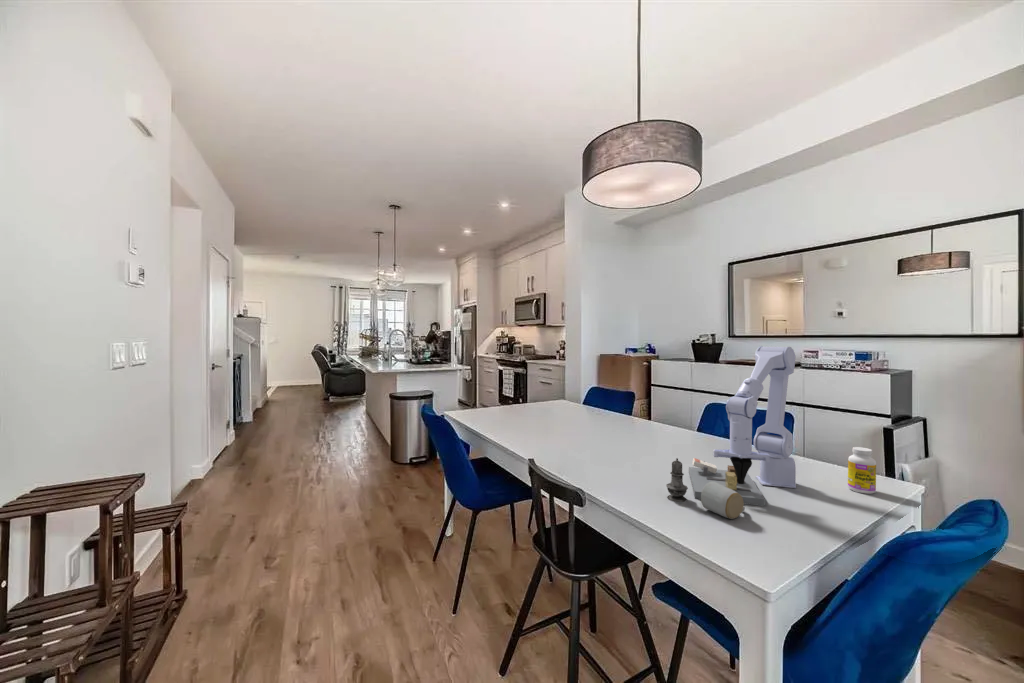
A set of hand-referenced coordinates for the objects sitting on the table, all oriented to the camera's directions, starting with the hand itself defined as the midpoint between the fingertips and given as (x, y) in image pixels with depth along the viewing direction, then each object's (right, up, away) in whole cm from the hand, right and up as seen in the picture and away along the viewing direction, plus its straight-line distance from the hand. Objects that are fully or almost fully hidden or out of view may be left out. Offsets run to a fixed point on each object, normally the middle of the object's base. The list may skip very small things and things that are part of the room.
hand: (740, 483), depth 124 cm
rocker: (-4, +1, +15) cm, 16 cm away
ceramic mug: (-11, -4, -11) cm, 16 cm away
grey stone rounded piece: (-20, -4, -2) cm, 20 cm away
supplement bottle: (+40, -4, +4) cm, 40 cm away
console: (-2, -4, +7) cm, 8 cm away
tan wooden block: (-2, -2, +1) cm, 3 cm away
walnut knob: (+1, -1, +7) cm, 7 cm away
